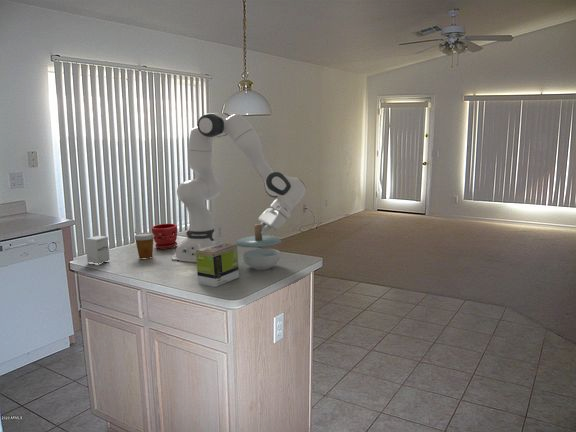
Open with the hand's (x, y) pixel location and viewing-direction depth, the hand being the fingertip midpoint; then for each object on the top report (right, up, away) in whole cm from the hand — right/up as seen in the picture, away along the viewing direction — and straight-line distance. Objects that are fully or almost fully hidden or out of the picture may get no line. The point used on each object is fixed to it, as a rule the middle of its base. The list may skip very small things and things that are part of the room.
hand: (259, 232), depth 220 cm
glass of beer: (-58, -14, +25) cm, 65 cm away
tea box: (-16, -20, -15) cm, 30 cm away
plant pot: (-54, -10, +46) cm, 71 cm away
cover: (0, -4, +1) cm, 4 cm away
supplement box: (-79, -15, +18) cm, 82 cm away
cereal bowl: (+1, -16, +3) cm, 16 cm away
